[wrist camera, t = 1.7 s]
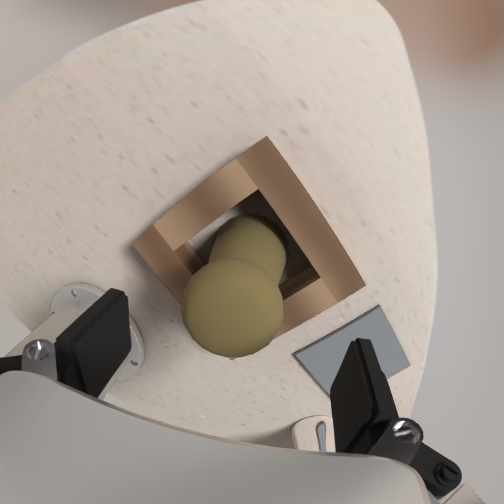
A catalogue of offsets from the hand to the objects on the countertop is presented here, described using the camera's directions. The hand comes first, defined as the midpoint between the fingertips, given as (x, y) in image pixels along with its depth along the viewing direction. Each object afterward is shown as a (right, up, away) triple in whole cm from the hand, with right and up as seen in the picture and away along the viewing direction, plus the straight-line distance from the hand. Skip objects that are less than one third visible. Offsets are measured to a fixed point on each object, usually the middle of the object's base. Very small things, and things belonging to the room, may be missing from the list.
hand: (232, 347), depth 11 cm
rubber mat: (+11, -7, +15) cm, 20 cm away
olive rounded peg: (+1, +4, +13) cm, 13 cm away
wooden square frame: (+1, +4, +12) cm, 13 cm away
